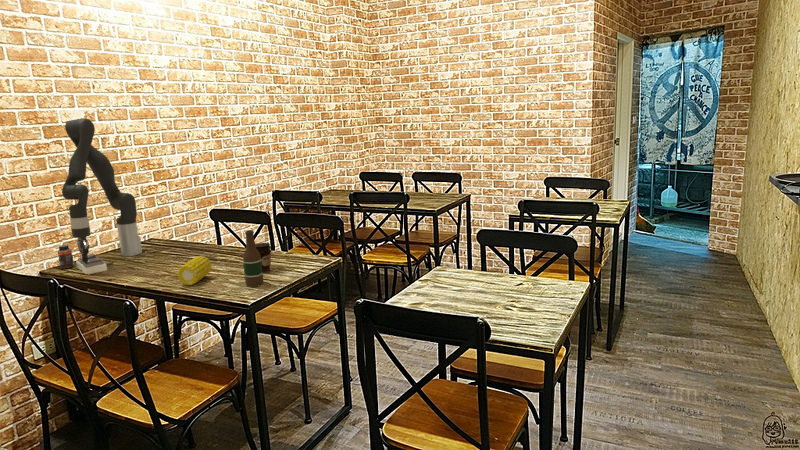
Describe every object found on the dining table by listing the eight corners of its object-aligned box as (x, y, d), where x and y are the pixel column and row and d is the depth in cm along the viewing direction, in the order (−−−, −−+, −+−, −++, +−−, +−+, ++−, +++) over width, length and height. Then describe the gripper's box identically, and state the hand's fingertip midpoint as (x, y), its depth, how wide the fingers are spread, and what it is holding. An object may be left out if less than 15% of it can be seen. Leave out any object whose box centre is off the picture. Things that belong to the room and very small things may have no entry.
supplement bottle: (77, 265, 267) (73, 243, 265) (69, 269, 262) (64, 247, 259) (66, 265, 268) (62, 243, 265) (57, 269, 262) (53, 247, 260)
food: (194, 288, 230) (191, 265, 227) (173, 285, 234) (170, 263, 232) (218, 276, 244) (215, 255, 241) (198, 274, 248) (195, 253, 245)
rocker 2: (98, 260, 261) (98, 257, 261) (101, 262, 258) (100, 259, 258) (85, 263, 257) (84, 260, 257) (87, 265, 254) (86, 262, 254)
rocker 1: (93, 255, 267) (92, 253, 267) (96, 257, 264) (94, 254, 264) (80, 260, 264) (79, 258, 263) (83, 262, 261) (82, 259, 260)
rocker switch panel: (107, 260, 274) (106, 252, 273) (118, 267, 261) (116, 258, 260) (77, 266, 265) (75, 258, 264) (86, 274, 252) (84, 265, 251)
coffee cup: (277, 269, 252) (274, 242, 249) (267, 274, 244) (264, 247, 241) (261, 267, 255) (258, 241, 252) (251, 273, 247) (248, 246, 244)
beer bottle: (247, 281, 236) (241, 229, 230) (265, 280, 236) (260, 228, 231) (243, 287, 228) (238, 233, 223) (262, 286, 229) (256, 232, 223)
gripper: (92, 227, 249) (97, 262, 253) (85, 223, 259) (90, 257, 262) (74, 229, 244) (79, 266, 248) (68, 225, 254) (73, 260, 257)
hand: (85, 261), depth 255 cm, fingers closed
